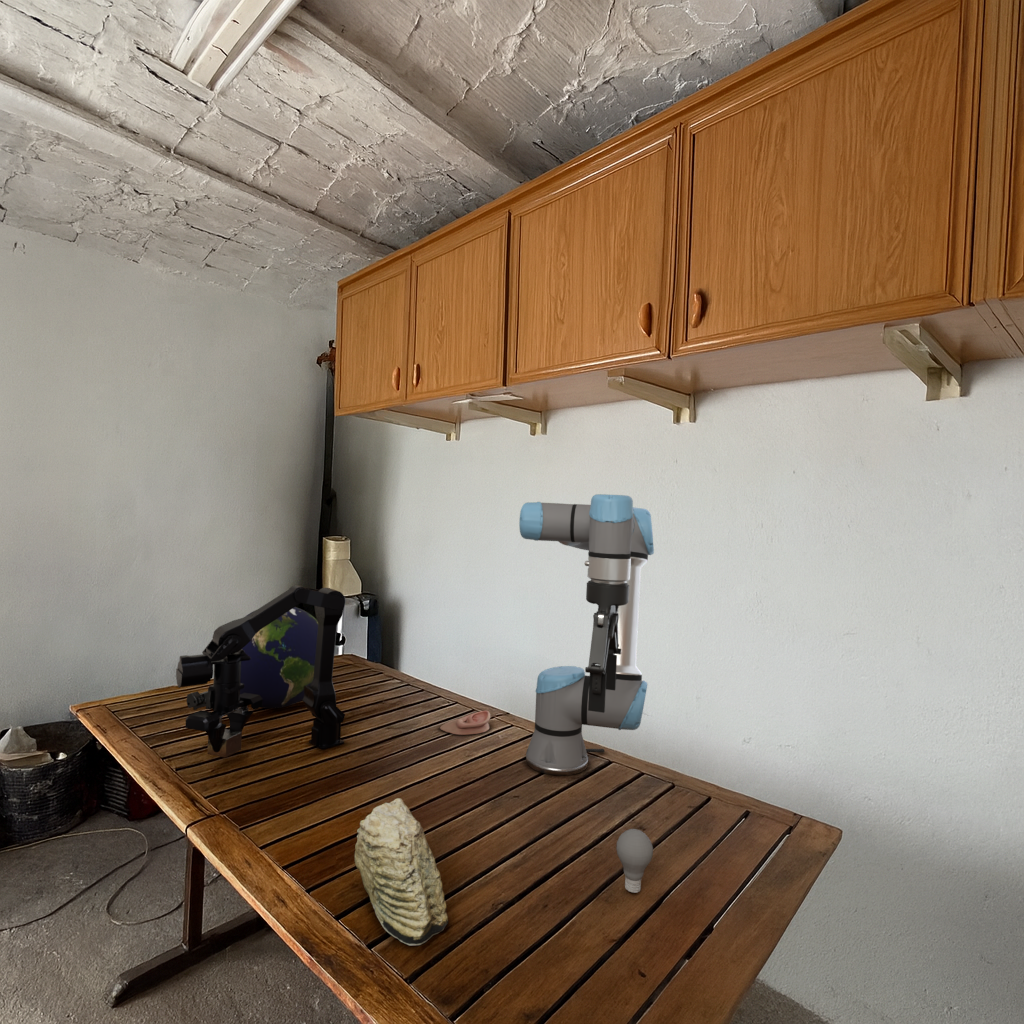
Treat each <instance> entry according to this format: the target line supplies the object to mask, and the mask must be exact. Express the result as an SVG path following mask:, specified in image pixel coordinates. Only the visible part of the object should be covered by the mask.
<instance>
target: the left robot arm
mask: <svg viewBox="0 0 1024 1024" xmlns="http://www.w3.org/2000/svg"><path fill="white" fill-rule="evenodd" d="M346 600H347V599H346V596H345V595H344V594H343V592H341V591H339V590H336V589H333V588H331V587H323V588H322V587H321V588H320V589H315V588H311V587H306V586H305V587H304V586H301V585H299V584H295V585H292V586H290V587H289V588H288V589H287V590H285V591H283V592H282V593H281V594H279V595H277V596H276V597H275V598H273V599H272V600H270V601H268V602H267V603H265V604H264V605H262V606H260V607H259V608H257V609H255V610H256V611H255V610H253V611H254V612H253V611H252V612H253V613H251V612H250V613H251V614H250V613H249V614H250V615H248V614H247V615H248V616H247V615H245V616H246V617H245V616H243V617H241V618H237V619H234V620H231V621H229V622H227V623H224V624H222V625H220V626H218V627H217V628H216V629H215V630H214V631H213V634H212V639H211V641H210V642H209V643H208V644H207V645H206V647H205V648H204V649H203V650H202V652H201V653H202V654H193V655H180V656H179V661H178V663H177V668H176V669H175V677H176V684H177V688H179V689H180V688H187V687H195V686H201V685H202V686H203V685H207V684H208V683H209V682H211V680H212V679H213V681H212V682H213V684H212V685H208V688H207V691H203V692H201V693H200V692H199V691H197V690H196V691H194V692H190V693H187V694H186V706H187V708H189V709H191V708H192V709H193V711H195V712H193V713H191V714H189V715H188V716H187V717H186V718H185V729H189V730H194V731H200V732H205V733H206V735H207V738H208V737H209V740H210V743H211V745H212V748H213V751H214V752H219V749H220V747H221V743H222V739H223V735H224V732H225V729H227V723H223V717H225V716H227V719H228V720H229V730H234V731H240V732H242V733H243V730H244V728H245V727H246V724H247V723H248V721H249V719H250V718H251V716H252V715H254V711H255V710H258V709H260V708H261V707H262V701H263V699H262V698H261V696H260V695H256V694H250V693H243V694H240V690H241V689H243V688H244V684H242V683H240V679H241V661H247V660H250V659H251V657H249V656H248V655H247V654H246V653H245V651H244V650H243V649H242V648H243V647H244V646H245V645H247V644H248V643H249V642H250V641H251V640H252V638H253V637H254V636H255V634H256V633H257V632H258V631H259V630H261V629H262V628H264V627H265V626H267V625H268V624H270V623H271V622H273V621H274V620H276V619H277V618H279V617H281V616H282V615H284V614H285V613H287V612H288V611H290V610H291V609H293V608H294V607H298V605H300V604H306V605H310V606H314V613H315V616H316V620H317V621H318V633H317V644H316V655H315V666H314V677H313V680H312V682H311V684H310V686H307V685H305V686H304V698H303V700H301V701H302V702H303V703H304V706H305V708H306V709H307V711H309V712H310V713H311V716H312V717H314V718H315V719H313V721H312V722H313V723H312V727H311V730H310V731H311V732H310V733H311V735H310V739H309V740H308V743H309V744H310V745H313V746H314V747H316V748H318V749H320V750H327V749H329V748H333V747H336V746H340V745H343V744H344V743H345V741H344V740H343V739H341V737H342V735H341V733H342V723H343V722H344V720H345V717H346V713H345V712H343V711H342V710H341V709H340V708H339V707H338V706H337V695H336V689H335V686H334V682H333V674H334V663H335V651H336V641H337V630H338V629H337V628H338V625H339V622H340V621H341V619H342V617H343V614H344V611H345V607H346V603H347V601H346ZM249 706H250V708H251V709H252V710H253V711H252V710H249ZM201 708H205V710H202V709H201ZM198 709H201V710H198ZM197 710H198V711H197ZM206 710H212V711H206Z"/></svg>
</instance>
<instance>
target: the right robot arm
mask: <svg viewBox="0 0 1024 1024" xmlns="http://www.w3.org/2000/svg"><path fill="white" fill-rule="evenodd" d="M518 522H519V523H518V524H519V534H520V536H521V538H523V539H525V540H531V541H537V542H538V541H541V542H558V543H560V544H561V545H563V546H568V547H572V548H575V549H578V550H583V551H587V552H588V553H587V556H588V558H587V560H585V561H584V566H585V567H588V568H587V575H586V576H587V578H588V579H589V580H587V582H586V588H585V589H586V591H585V592H586V593H585V601H587V602H588V603H590V604H592V605H597V611H596V612H593V617H592V618H593V621H592V624H593V625H592V632H591V633H592V634H591V641H590V649H589V657H588V665H587V666H585V669H584V668H582V667H580V666H575V665H561V666H554V667H549V668H546V669H544V670H541V672H539V673H538V676H537V681H536V688H535V715H534V719H535V720H534V731H533V734H532V736H531V739H530V741H529V744H528V746H527V745H526V753H525V763H526V764H527V766H528V767H529V768H530V769H533V770H534V771H537V772H539V773H543V774H546V775H551V776H573V775H577V774H580V773H582V772H584V771H585V770H586V769H587V768H588V765H589V756H588V753H599V754H600V753H605V749H604V748H587V747H586V744H585V741H584V737H583V726H592V727H599V728H608V729H616V730H618V731H621V730H625V731H636V730H637V729H639V728H640V726H641V722H642V718H643V713H644V707H645V700H646V695H647V691H648V690H647V689H648V682H647V681H645V680H642V679H643V673H642V671H641V670H640V669H639V667H638V666H637V656H638V655H637V654H638V636H639V635H638V634H639V632H638V631H639V616H640V615H639V614H640V599H641V598H640V596H641V594H640V593H641V580H642V579H641V578H642V577H641V576H642V568H643V567H644V566H645V565H646V564H647V563H648V559H649V556H652V555H654V553H655V549H654V536H653V535H654V534H653V523H652V514H651V512H650V510H648V509H646V508H644V507H643V508H642V507H634V500H633V498H632V496H630V495H624V494H605V493H604V494H601V493H600V494H599V493H596V494H594V495H592V496H591V499H590V504H582V503H581V504H580V503H577V504H576V503H558V502H541V501H536V502H534V501H533V502H529V501H528V502H525V503H523V505H522V506H521V509H520V513H519V521H518ZM586 673H587V674H588V673H589V675H586Z"/></svg>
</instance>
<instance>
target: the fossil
mask: <svg viewBox="0 0 1024 1024" xmlns="http://www.w3.org/2000/svg"><path fill="white" fill-rule="evenodd" d="M356 831H357V832H356V833H357V835H356V840H357V841H356V843H355V846H354V847H355V848H354V850H355V851H354V864H355V867H356V868H357V870H358V871H359V874H360V877H361V880H362V884H363V888H364V890H365V892H366V893H367V895H368V897H369V901H370V903H371V905H372V908H373V910H374V913H375V916H376V918H377V920H378V922H379V923H380V925H381V926H382V928H383V929H384V931H385V932H387V933H388V934H389V935H390V936H392V937H393V938H395V939H397V940H398V941H399V942H400V943H403V944H405V945H407V946H409V947H410V946H421V945H423V944H425V943H427V942H428V940H430V939H431V938H432V937H433V936H435V935H438V934H439V933H441V932H443V931H444V929H445V928H446V926H447V925H448V924H449V917H448V914H447V903H446V901H445V892H444V890H443V887H444V886H443V881H442V880H441V879H442V878H441V876H442V875H441V873H440V870H439V869H438V867H437V863H436V858H435V857H434V854H433V851H432V849H431V848H430V845H429V843H428V841H427V838H426V836H425V835H426V834H425V832H424V828H423V827H422V825H421V822H420V821H418V820H417V819H416V818H415V816H413V814H412V812H411V810H410V809H409V807H408V806H407V805H406V804H405V802H404V800H403V799H402V798H401V797H397V798H395V799H393V800H392V801H390V802H384V803H383V804H380V805H377V806H376V807H374V808H372V811H371V813H369V814H368V815H367V816H365V818H364V819H363V820H360V822H359V828H357V830H356Z"/></svg>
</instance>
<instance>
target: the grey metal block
mask: <svg viewBox="0 0 1024 1024" xmlns="http://www.w3.org/2000/svg"><path fill="white" fill-rule="evenodd" d="M242 738H243V731H242V732H240V731H234V730H230V729H227V728H225V732H224V735H223V739H222V743H221V747H220V749H219V752H214V751H213V748H212V745H211V743H210V740H209V737H208V736H207V755H211V756H214V757H220V758H224V759H225V758H228V757H230V756H232V755H234V754H236V753H238V752H239V751H241V750H242V743H243V742H242V741H243V739H242Z"/></svg>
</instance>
